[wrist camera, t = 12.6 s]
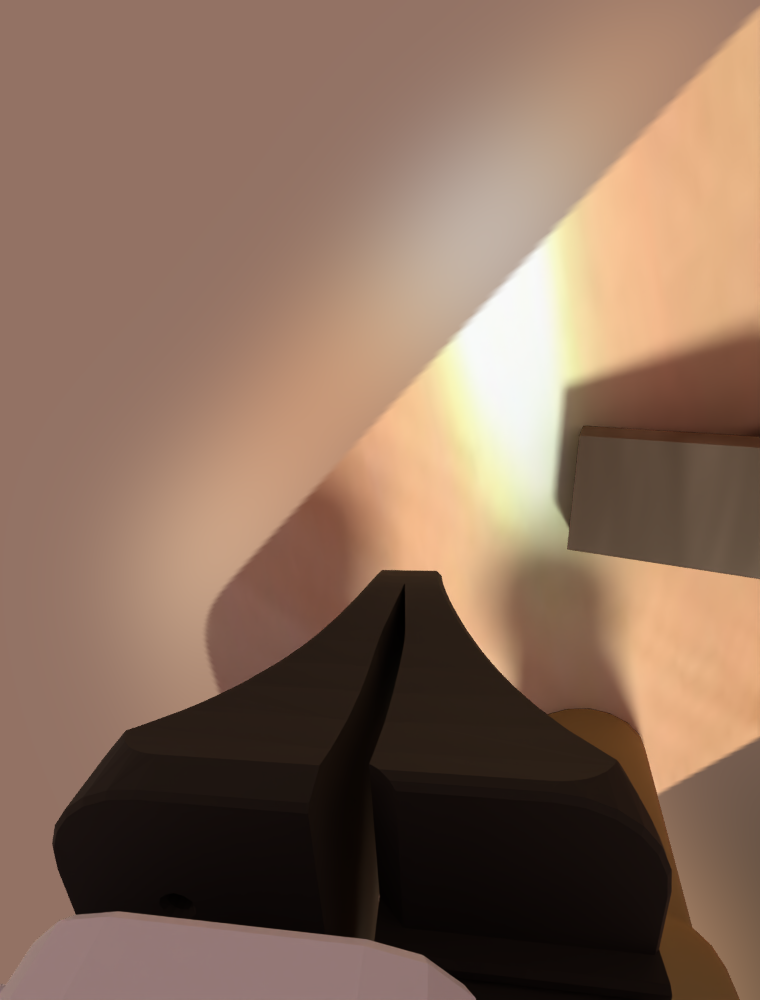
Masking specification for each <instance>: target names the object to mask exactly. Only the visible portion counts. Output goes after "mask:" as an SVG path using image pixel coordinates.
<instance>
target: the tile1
mask: <svg viewBox="0 0 760 1000" xmlns="http://www.w3.org/2000/svg"><path fill="white" fill-rule="evenodd" d="M567 549H569V550H575V551H582V552H588V553H594V554H601V555H607V556H614V557H620V558H627V559H633V560H640V561H646V562H653V563H659V564H666V565H672V566H679V567H685V568H692V569H698V570H705V571H711V572H718V573H724V574H731V575H737V576H743V577H750V578H756V579H760V437H757V436H741V435H724V434H707V433H691V432H674V431H658V430H641V429H625V428H608V427H592V426H583V428H582V431H581V433H580V435H579V444H578V453H577V463H576V472H575V481H574V490H573V500H572V509H571V518H570V527H569V537H568V546H567Z"/></svg>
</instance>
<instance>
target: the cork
mask: <svg viewBox="0 0 760 1000" xmlns="http://www.w3.org/2000/svg"><path fill="white" fill-rule="evenodd" d="M548 715H549V716H550V717H551V718H553V719H554V720H555V721H557V722H558V723H559V724H561V725H562V726H563V727H565V728H566V729H568V730H569V731H571V732H572V733H574V734H576V735H577V736H579V737H581V738H582V739H584V740H585V741H587V742H589V743H590V744H592V745H593V746H595V747H597V748H598V749H600V750H602V751H603V752H605V753H606V754H608V755H610V756H611V757H613V758H615V759H616V760H617V761H618V762H619V763H620V764H621V766H622V768H623V769H624V771H625V773H626V774H627V776H628V778H629V779H630V781H631V783H632V784H633V786H634V788H635V790H636V791H637V793H638V795H639V797H640V799H641V800H642V802H643V804H644V806H645V808H646V810H647V811H648V813H649V815H650V817H651V819H652V821H653V823H654V825H655V827H656V830H657V832H658V834H659V836H660V839H661V841H662V844H663V846H664V849H665V852H666V855H667V859H668V861H669V864H670V866H671V869H672V892H671V897H670V902H669V906H668V911H667V915H666V920H665V924H664V929H663V933H662V938H661V943H660V947H659V950H660V953H661V956H662V959H663V962H664V966H665V969H666V972H667V975H668V978H669V981H670V984H671V990H672V999H671V1000H740V999H739V997H738V995H737V992H736V990H735V987H734V985H733V983H732V981H731V978H730V976H729V973H728V971H727V969H726V967H725V966H724V964H723V962H722V961H721V959H720V958H719V957H718V955H717V953H716V952H715V950H714V949H713V947H712V946H711V945H710V944H709V943H708V942H707V941H706V940H705V939H704V938H703V937H702V936H701V935H700V934H699V933H698V932H697V931H695V930H694V929H693V928H692V924H691V921H690V917H689V913H688V909H687V906H686V902H685V898H684V894H683V890H682V887H681V883H680V879H679V875H678V872H677V868H676V865H675V860H674V856H673V853H672V849H671V845H670V842H669V838H668V834H667V830H666V827H665V822H664V819H663V815H662V811H661V807H660V804H659V800H658V796H657V792H656V788H655V785H654V781H653V777H652V773H651V770H650V766H649V762H648V758H647V754H646V751H645V748H644V746H643V743H642V741H641V738H640V736H639V735H638V734H637V732H636V731H635V730H634V729H633V728H632V727H631V726H630V725H629V724H628V723H627V722H625V721H623V720H621V719H619V718H617V717H615V716H613V715H612V714H610V713H605V712H601V711H597V710H592V709H567V710H563V711H559V712H556V713H552V714H548Z"/></svg>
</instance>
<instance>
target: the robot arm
mask: <svg viewBox="0 0 760 1000" xmlns="http://www.w3.org/2000/svg"><path fill="white" fill-rule="evenodd" d="M52 844H53V850H54V854H55V859H56V863H57V867H58V871H59V873H60V876H61V878H62V881H63V883H64V886H65V888H66V891H67V893H68V896H69V898H70V901H71V903H72V906H73V908H74V911H75V914H76V915H73V916H71V917H68V918H65V919H62V920H59V921H58V922H57V923H56V924H55V925H53V926H52V927H51V928H50V929H49V930H48V931H46V932H45V933H44V934H43V935H42V936H41V937H39V938H38V939H37V940H36V941H35V942H34V943H33V944H32V946H31V947H30V949H29V950H28V952H27V953H26V955H25V956H24V958H23V959H22V961H21V962H20V964H19V966H18V967H17V968H16V970H15V972H14V973H13V975H12V976H11V978H10V979H9V981H8V982H7V984H6V985H5V984H0V1000H671V999H672V990H671V984H670V981H669V978H668V975H667V972H666V969H665V966H664V962H663V959H662V956H661V953H660V950H659V947H660V943H661V938H662V933H663V929H664V924H665V920H666V915H667V911H668V906H669V902H670V897H671V892H672V869H671V866H670V864H669V861H668V859H667V855H666V852H665V849H664V846H663V844H662V841H661V839H660V836H659V834H658V832H657V830H656V827H655V825H654V823H653V821H652V819H651V817H650V815H649V813H648V811H647V810H646V808H645V806H644V804H643V802H642V800H641V799H640V797H639V795H638V793H637V791H636V790H635V788H634V786H633V784H632V783H631V781H630V779H629V778H628V776H627V774H626V773H625V771H624V769H623V768H622V766H621V764H620V763H619V762H618V761H617V760H616V759H615V758H613V757H611V756H610V755H608V754H606V753H605V752H603V751H602V750H600V749H598V748H597V747H595V746H593V745H592V744H590V743H589V742H587V741H585V740H584V739H582V738H581V737H579V736H577V735H576V734H574V733H572V732H571V731H569V730H568V729H566V728H565V727H563V726H562V725H561V724H559V723H558V722H557V721H555V720H554V719H553V718H551V717H550V716H549V715H547V714H546V713H545V712H543V711H542V710H540V709H539V708H538V707H537V706H536V705H534V704H533V703H532V702H531V701H530V700H529V699H528V698H526V697H525V696H524V695H523V694H522V693H521V692H520V691H519V690H517V689H516V688H515V687H514V686H513V685H512V684H511V683H510V682H509V681H508V680H507V679H506V678H505V677H504V676H503V675H502V674H501V673H500V672H499V671H498V669H497V668H496V667H495V666H494V665H493V664H492V663H491V662H490V660H489V659H488V658H487V657H486V656H485V654H484V653H483V652H482V651H481V649H480V648H479V647H478V645H477V644H476V643H475V641H474V640H473V638H472V637H471V635H470V634H469V633H468V631H467V630H466V628H465V626H464V625H463V623H462V622H461V620H460V618H459V616H458V615H457V613H456V611H455V609H454V608H453V606H452V604H451V602H450V600H449V598H448V595H447V593H446V591H445V588H444V585H443V582H442V576H441V575H440V574H439V573H438V572H437V571H400V570H382V571H381V572H380V573H379V574H378V575H377V576H376V577H375V578H374V579H373V580H372V581H371V582H370V583H369V584H368V586H367V587H366V588H365V589H364V590H363V591H362V592H361V593H360V594H359V595H358V596H357V598H356V599H355V600H354V601H353V602H352V603H351V604H350V605H349V606H348V607H347V608H346V609H345V610H344V611H343V612H342V613H341V614H340V615H339V616H338V617H337V618H335V619H334V620H333V621H332V622H331V623H330V624H329V625H328V626H326V627H325V628H324V629H323V630H322V631H321V632H320V633H319V634H317V635H316V636H315V637H314V638H312V639H311V640H310V641H308V642H307V643H306V644H305V645H303V646H302V647H300V648H299V649H297V650H296V651H295V652H293V653H292V654H290V655H289V656H287V657H286V658H284V659H283V660H281V661H280V662H278V663H276V664H275V665H273V666H271V667H270V668H268V669H266V670H264V671H263V672H261V673H259V674H257V675H256V676H254V677H252V678H251V679H249V680H247V681H245V682H244V683H242V684H240V685H238V686H236V687H234V688H232V689H230V690H228V691H226V692H223V693H221V694H219V695H217V696H215V697H213V698H210V699H208V700H206V701H204V702H201V703H199V704H197V705H195V706H192V707H190V708H187V709H185V710H182V711H180V712H177V713H174V714H171V715H169V716H166V717H163V718H161V719H158V720H155V721H152V722H149V723H147V724H144V725H141V726H138V727H136V728H132V729H130V730H126V731H125V732H124V734H123V735H122V736H121V737H120V739H119V740H118V741H117V742H116V743H115V745H114V746H113V747H112V748H111V750H110V751H109V752H108V753H107V755H106V756H105V757H104V758H103V760H102V761H101V763H100V764H99V765H98V766H97V768H96V769H95V771H94V772H93V773H92V774H91V776H90V777H89V778H88V780H87V781H86V782H85V784H84V785H83V786H82V788H81V789H80V791H79V792H78V793H77V794H76V796H75V797H74V798H73V800H72V801H71V802H70V804H69V805H68V806H67V808H66V809H65V811H64V812H63V814H62V815H61V817H60V818H59V820H58V821H57V823H56V824H55V829H54V836H53V843H52Z"/></svg>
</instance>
